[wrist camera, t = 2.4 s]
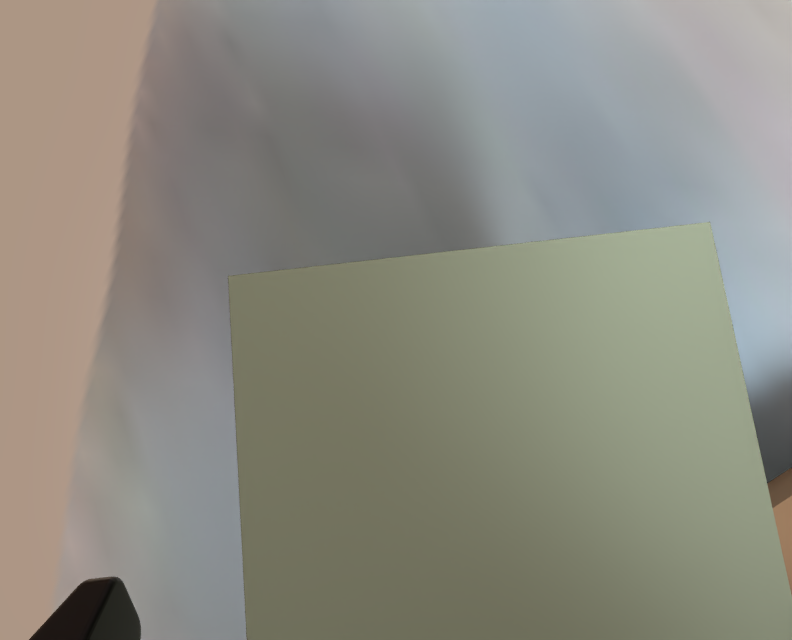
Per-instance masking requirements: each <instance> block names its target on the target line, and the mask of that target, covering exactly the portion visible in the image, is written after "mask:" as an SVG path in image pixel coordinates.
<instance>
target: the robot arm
mask: <svg viewBox="0 0 792 640" xmlns="http://www.w3.org/2000/svg"><path fill="white" fill-rule="evenodd" d="M140 638H141V626H140V620H139V617H138V614H137V612H136V610H135V608H134V605H133V603H132V601H131V599H130V596H129V594H128V592H127V590H126V587H125V585H124V583H123V582H122V580H121V579H119V578H118V577H104V578H95V579H88V580H86V581H84V582H83V583H81V584H80V585H79V586H78V587H77V588H76V589H75V590H74V591H73V592H72V593H71V594H70V596H69V597H68V598H67V599H66V600H65V601H64V602H63V603H62V604H61V605H60V606H59V608H58V609H57V610H56V611H55V612H54V613H53V614H52V615H51V616H50V617H49V618H48V620H47V621H46V622H45V623H44V624H43V625H42V626H41V627H40V629H38V630H37V632H36V633H35V634H34V635H33V636H32V637H31V638H30V639H29V640H140Z"/></svg>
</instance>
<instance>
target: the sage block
mask: <svg viewBox="0 0 792 640" xmlns="http://www.w3.org/2000/svg"><path fill="white" fill-rule="evenodd" d="M228 284H229V303H230V323H231V342H232V362H233V381H234V400H235V420H236V439H237V459H238V478H239V498H240V517H241V537H242V556H243V576H244V595H245V615H246V634H247V640H792V595H791V590H790V586H789V581H788V577H787V572H786V567H785V563H784V558H783V554H782V549H781V545H780V540H779V535H778V531H777V526H776V522H775V517H774V513H773V508H772V503H771V499H770V494H769V490H768V485H767V481H766V476H765V471H764V467H763V462H762V458H761V453H760V449H759V444H758V439H757V435H756V430H755V426H754V421H753V417H752V412H751V407H750V403H749V398H748V394H747V389H746V385H745V380H744V375H743V371H742V366H741V362H740V357H739V353H738V348H737V343H736V339H735V334H734V330H733V325H732V321H731V316H730V311H729V307H728V302H727V298H726V293H725V289H724V284H723V279H722V275H721V270H720V266H719V261H718V257H717V252H716V247H715V243H714V238H713V234H712V229H711V225H710V222H707V223H698V224H689V225H680V226H671V227H662V228H653V229H644V230H635V231H626V232H617V233H608V234H599V235H590V236H581V237H572V238H563V239H554V240H546V241H537V242H528V243H519V244H510V245H501V246H492V247H483V248H474V249H465V250H456V251H447V252H438V253H429V254H420V255H411V256H402V257H393V258H384V259H375V260H366V261H357V262H348V263H339V264H330V265H322V266H313V267H304V268H295V269H286V270H277V271H268V272H259V273H250V274H241V275H232V276H228Z"/></svg>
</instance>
